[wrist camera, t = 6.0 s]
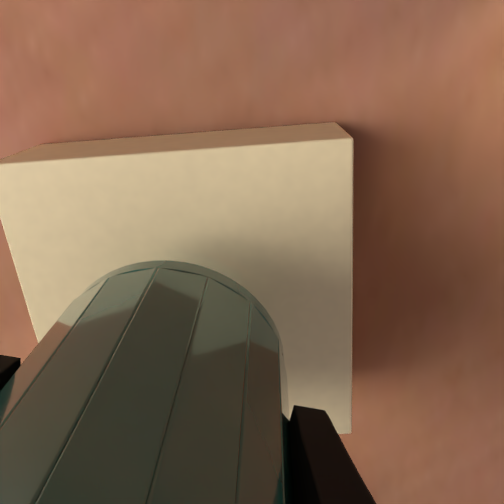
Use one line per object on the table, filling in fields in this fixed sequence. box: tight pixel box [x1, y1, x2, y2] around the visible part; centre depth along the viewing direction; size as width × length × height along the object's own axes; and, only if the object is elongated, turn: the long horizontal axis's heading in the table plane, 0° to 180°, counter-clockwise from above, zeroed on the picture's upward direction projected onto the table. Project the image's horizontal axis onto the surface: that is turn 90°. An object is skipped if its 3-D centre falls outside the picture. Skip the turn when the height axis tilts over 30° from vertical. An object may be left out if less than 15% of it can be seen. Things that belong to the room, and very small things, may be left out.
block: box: [0, 122, 354, 434], centre depth 14 cm, size 9×9×3 cm
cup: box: [0, 260, 295, 504], centre depth 8 cm, size 5×5×6 cm
